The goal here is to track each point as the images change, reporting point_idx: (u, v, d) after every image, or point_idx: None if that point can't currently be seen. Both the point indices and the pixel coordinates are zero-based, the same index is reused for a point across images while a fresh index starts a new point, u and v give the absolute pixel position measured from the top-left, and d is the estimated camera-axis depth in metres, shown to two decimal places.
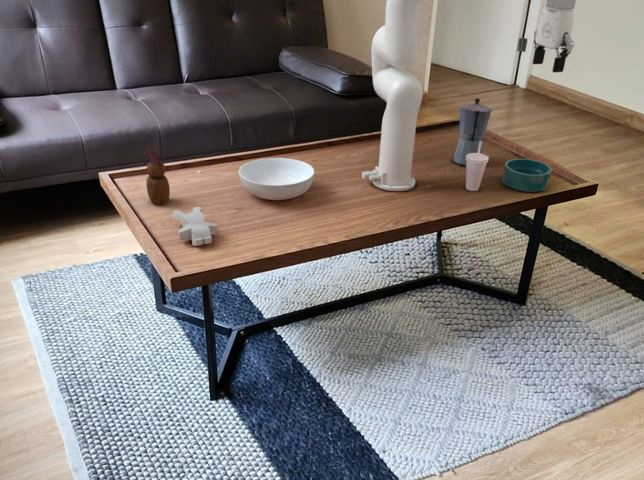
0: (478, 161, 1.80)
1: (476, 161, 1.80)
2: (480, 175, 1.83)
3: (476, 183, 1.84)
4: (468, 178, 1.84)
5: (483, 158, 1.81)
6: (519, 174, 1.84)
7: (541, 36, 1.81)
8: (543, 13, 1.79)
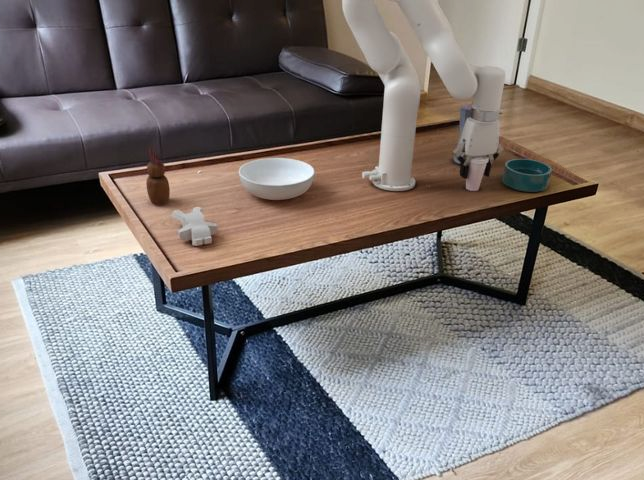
0: (479, 161, 1.80)
1: (476, 161, 1.80)
2: (480, 175, 1.83)
3: (476, 183, 1.84)
4: (469, 178, 1.84)
5: (483, 158, 1.81)
6: (519, 174, 1.84)
7: None
8: None
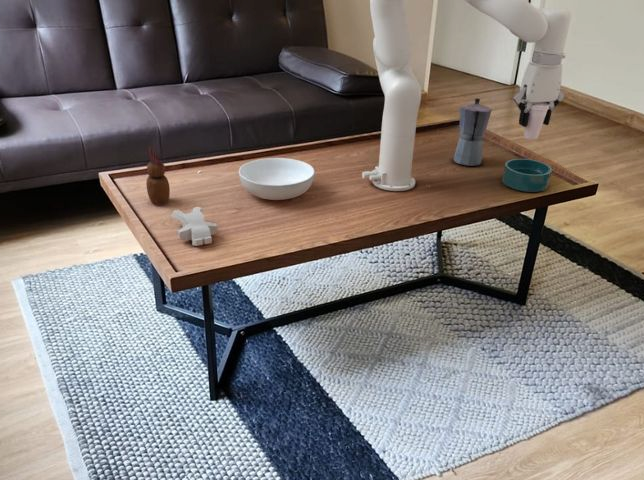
0: (540, 107, 1.76)
1: (537, 107, 1.76)
2: (541, 122, 1.79)
3: (535, 131, 1.80)
4: (528, 126, 1.80)
5: (544, 105, 1.77)
6: (519, 174, 1.84)
7: None
8: None
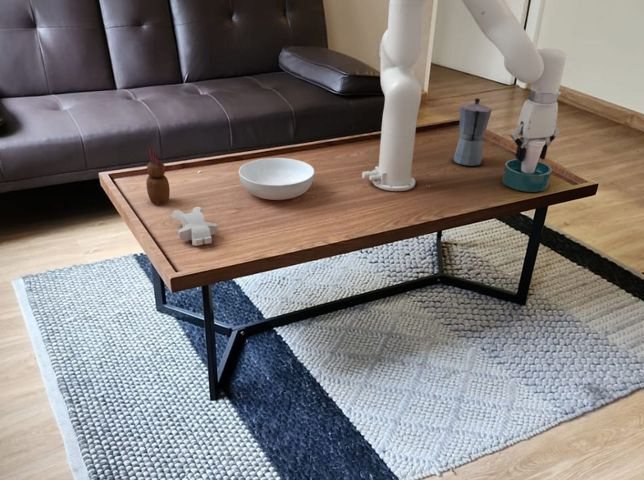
0: (536, 143, 1.81)
1: (533, 143, 1.82)
2: (537, 157, 1.85)
3: (532, 166, 1.86)
4: (525, 161, 1.86)
5: (540, 140, 1.83)
6: (519, 174, 1.84)
7: None
8: None
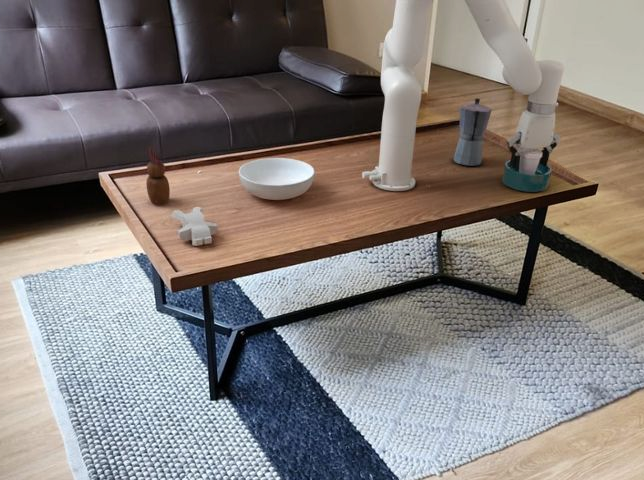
0: (533, 155, 1.83)
1: (530, 156, 1.84)
2: (534, 169, 1.86)
3: None
4: None
5: (537, 153, 1.85)
6: (519, 174, 1.84)
7: None
8: None
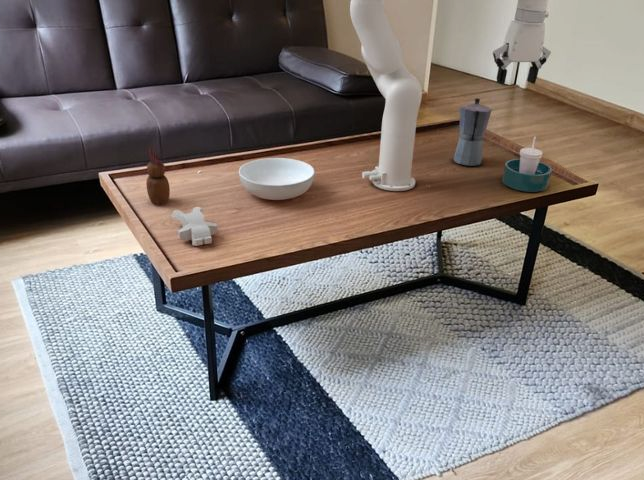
0: (533, 155, 1.83)
1: (530, 156, 1.84)
2: (534, 169, 1.86)
3: None
4: None
5: (537, 153, 1.85)
6: (519, 174, 1.84)
7: None
8: None
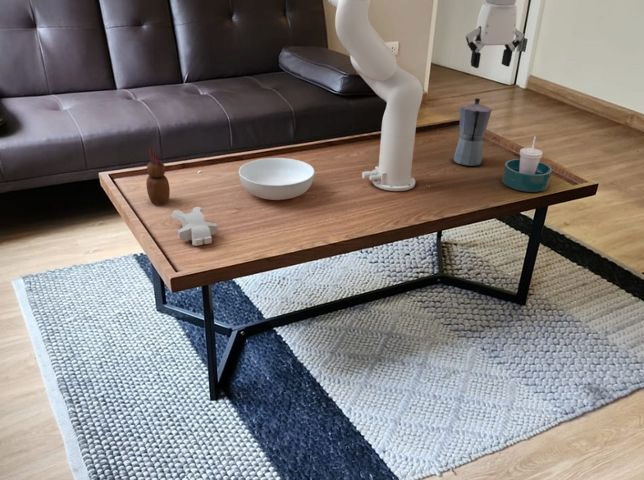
0: (533, 155, 1.83)
1: (530, 156, 1.84)
2: (534, 169, 1.86)
3: None
4: None
5: (537, 153, 1.85)
6: (519, 174, 1.84)
7: None
8: None
